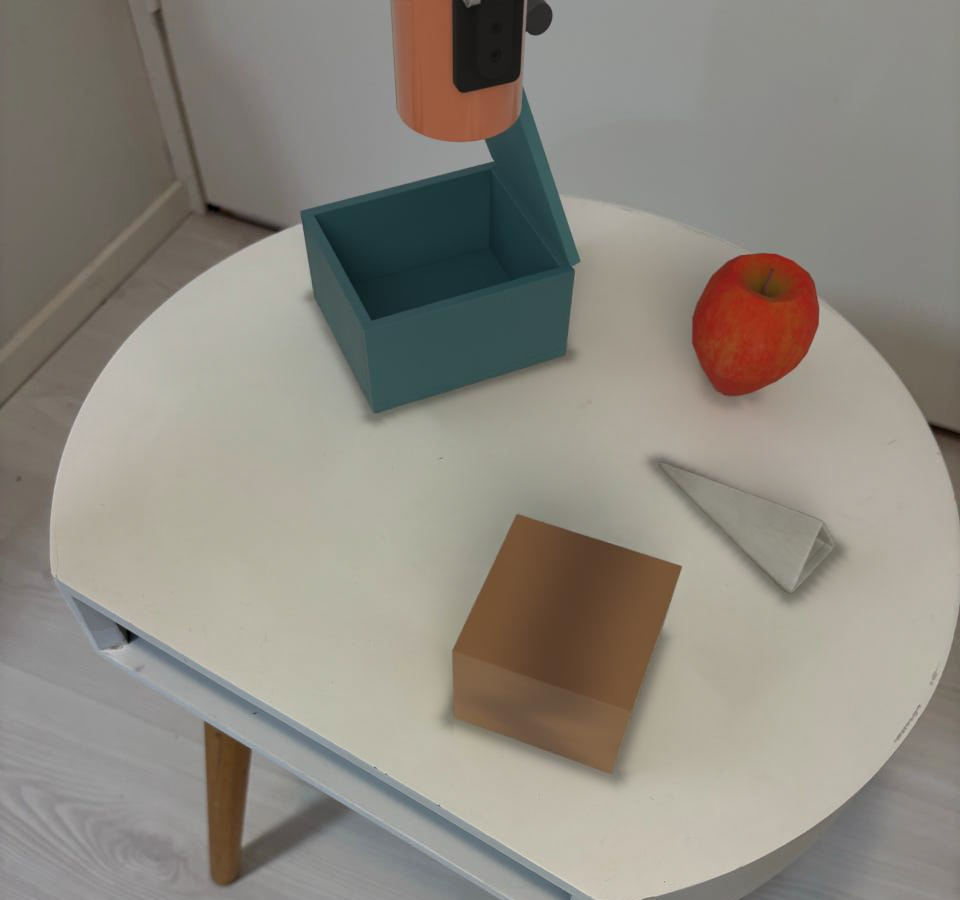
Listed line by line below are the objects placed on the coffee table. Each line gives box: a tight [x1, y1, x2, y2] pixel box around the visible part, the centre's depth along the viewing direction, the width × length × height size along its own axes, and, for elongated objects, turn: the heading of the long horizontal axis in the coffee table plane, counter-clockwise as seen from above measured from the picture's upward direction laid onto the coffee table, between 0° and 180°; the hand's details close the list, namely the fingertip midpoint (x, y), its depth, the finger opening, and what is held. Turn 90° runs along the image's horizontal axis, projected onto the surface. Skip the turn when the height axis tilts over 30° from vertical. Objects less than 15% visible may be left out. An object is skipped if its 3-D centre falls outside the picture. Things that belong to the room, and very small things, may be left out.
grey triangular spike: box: [658, 461, 837, 594], centre depth 68 cm, size 6×5×13 cm
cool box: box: [299, 160, 576, 414], centre depth 74 cm, size 16×14×8 cm
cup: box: [389, 0, 527, 143], centre depth 48 cm, size 6×6×8 cm
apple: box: [691, 252, 820, 397], centre depth 70 cm, size 9×8×11 cm
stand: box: [451, 513, 683, 775], centre depth 58 cm, size 10×10×8 cm
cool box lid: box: [484, 0, 581, 268], centre depth 65 cm, size 16×14×5 cm
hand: (457, 41), depth 48 cm, fingers closed on cup, 6 cm apart
